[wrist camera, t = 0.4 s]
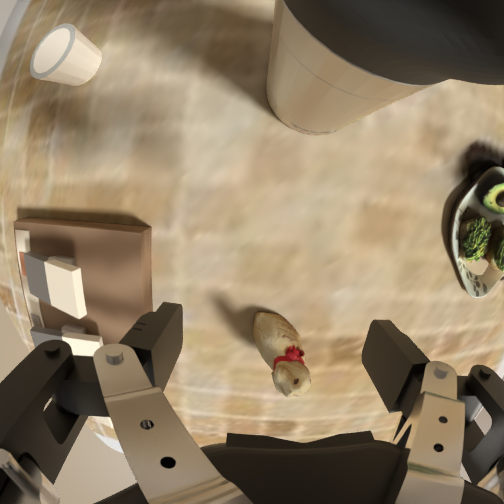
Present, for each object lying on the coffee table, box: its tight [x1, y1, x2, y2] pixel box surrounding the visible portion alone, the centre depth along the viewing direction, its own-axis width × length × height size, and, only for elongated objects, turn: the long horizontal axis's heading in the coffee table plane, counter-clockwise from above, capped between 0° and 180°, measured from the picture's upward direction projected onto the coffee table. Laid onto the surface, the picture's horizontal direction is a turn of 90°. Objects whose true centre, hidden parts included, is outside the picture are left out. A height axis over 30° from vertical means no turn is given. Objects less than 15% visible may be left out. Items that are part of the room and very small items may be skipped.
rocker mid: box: [30, 326, 103, 356], centre depth 26 cm, size 5×10×2 cm, turn 84°
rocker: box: [24, 251, 87, 319], centre depth 23 cm, size 5×10×2 cm, turn 84°
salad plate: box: [449, 166, 504, 298], centre depth 25 cm, size 19×18×5 cm
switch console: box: [14, 217, 153, 346], centre depth 29 cm, size 29×20×5 cm
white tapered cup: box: [30, 23, 102, 86], centre depth 19 cm, size 7×7×7 cm
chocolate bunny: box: [253, 312, 311, 397], centre depth 26 cm, size 6×8×10 cm
